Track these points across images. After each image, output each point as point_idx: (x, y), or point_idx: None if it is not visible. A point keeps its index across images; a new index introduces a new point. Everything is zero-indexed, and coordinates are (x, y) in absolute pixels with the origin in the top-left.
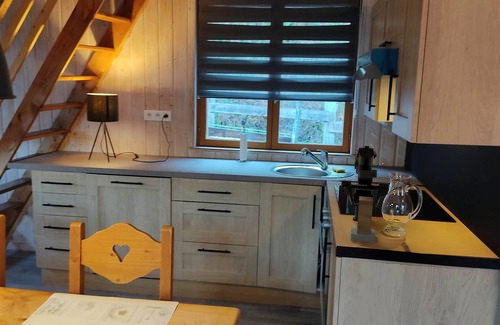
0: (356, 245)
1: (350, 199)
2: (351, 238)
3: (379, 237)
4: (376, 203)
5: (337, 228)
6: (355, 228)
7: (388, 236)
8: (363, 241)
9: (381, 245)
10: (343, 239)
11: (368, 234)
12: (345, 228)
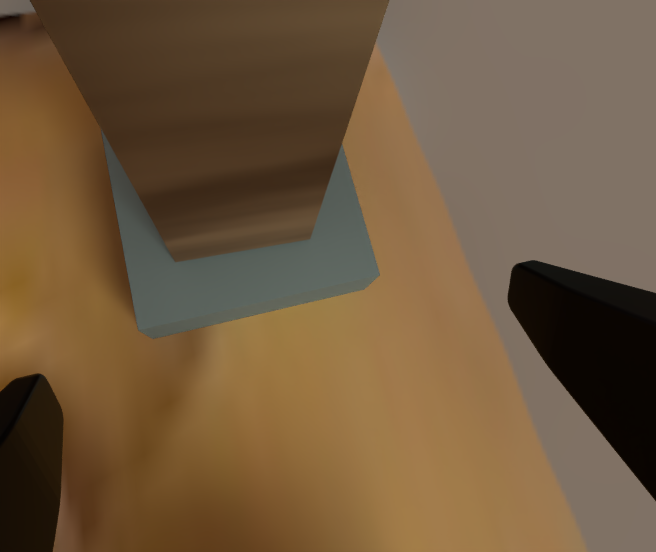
0: None
1: (629, 297)
2: None
3: (93, 301)
4: (2, 403)
5: (507, 370)
6: (328, 247)
7: (3, 378)
8: None
9: (56, 103)
10: (372, 117)
11: None
12: (447, 410)
